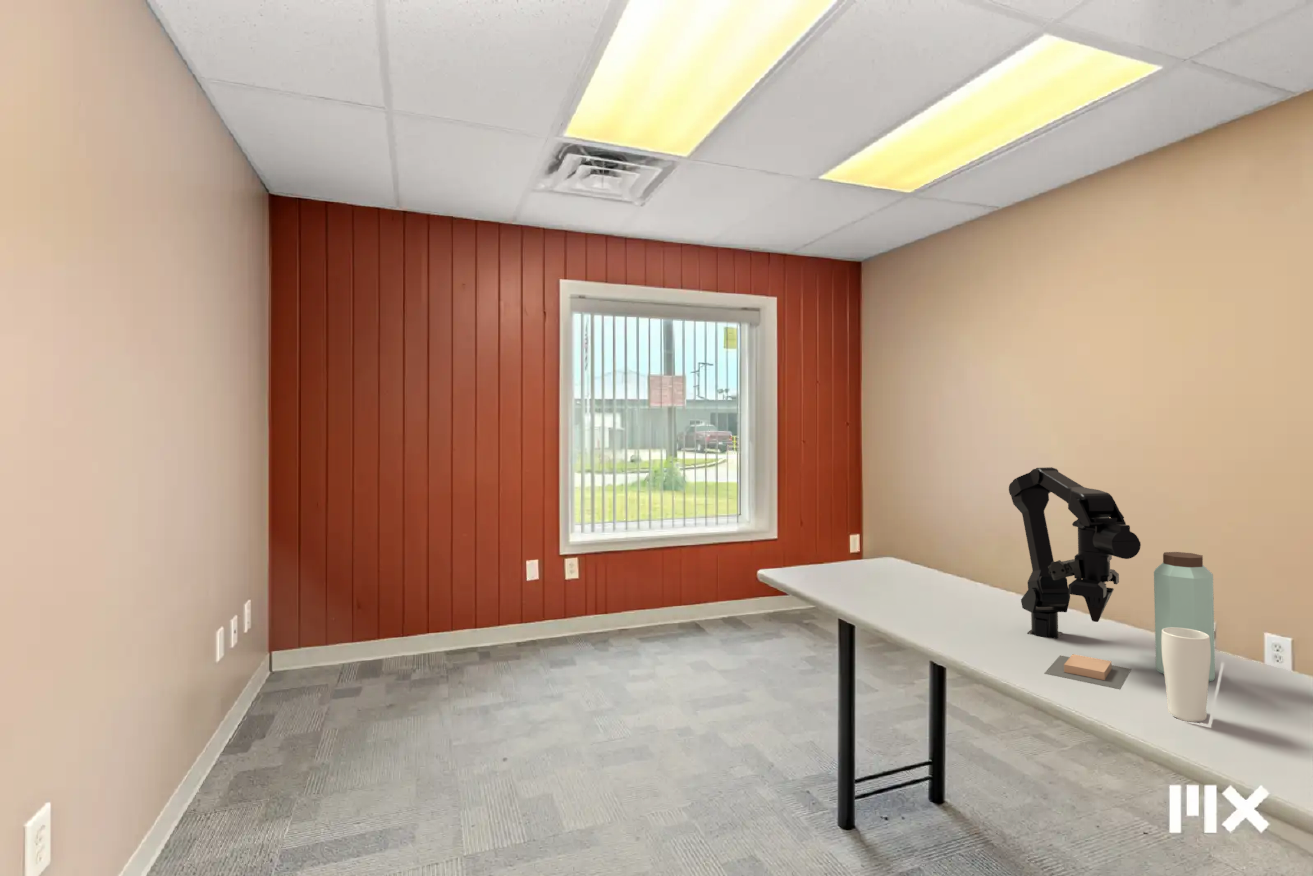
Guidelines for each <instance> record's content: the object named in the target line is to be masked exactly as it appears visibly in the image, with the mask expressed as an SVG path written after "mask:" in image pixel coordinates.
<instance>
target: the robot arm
mask: <svg viewBox="0 0 1313 876" xmlns="http://www.w3.org/2000/svg"><path fill="white" fill-rule="evenodd" d="M1008 493H1009V495H1010V497H1011V501H1012V504H1013V506H1014V507H1015V508H1016V509H1017V510H1018V511H1019V512H1020V513H1021V515H1022V520H1023V521H1022V522H1023V527H1024V530H1025V531H1024V532H1025V537H1026V542H1027V547H1028V552H1029V559H1030V563H1031V569H1032V571H1031V573H1030V576H1029V578H1028V580H1027V590H1026V592H1025V593H1024V595H1023V596H1022V598H1021V599H1020V603H1021V607H1022V609H1023V610H1025V611H1027V612H1029V613H1030V619H1031V621H1030V622H1031V629H1030V630H1029V631H1027V633H1026V634H1027V635H1032V636H1036V637H1043V638H1049V639H1055V640H1056V639H1058V638H1059V637H1060V636H1061V635H1062V634H1063V632H1062V631H1059V613H1067V612H1068V607H1069V604H1070V600H1071V595H1072V596H1079V597H1083V598H1084V600H1085V603H1086V606H1087V609H1088V612H1089V615H1090V619H1091V621H1092V622H1096V623H1097V622H1099V621H1100V619H1101V617H1102V615H1103V613H1104V610H1105V608H1106V607H1107V605H1108V602H1109V600H1110V598H1111V596H1112V594H1113V592H1114V591H1115V590H1114V589H1115V588H1113V587H1107V583H1108V582H1113V585H1118V584H1119V583H1120V575H1119V573H1118V572H1117V571H1116V570H1115V569H1111V560H1112V559H1113V557H1116V558H1119V559H1124V560H1129V559H1132V558H1134V557H1136V556H1137V555H1138V554H1139V552H1140V550H1141V546H1142V544H1141V541H1140V539H1139V537H1138V536H1137V534H1136V533H1134V532H1132V531H1131V526H1130V525H1129V524H1127V523H1126V520H1125V517H1124V515H1123V514H1122V512H1121V510H1119V509H1120V508H1119V507H1118V505H1117V503H1116V501H1115V499H1114V497H1113V496H1112V494H1110V493H1108V492H1107V491H1103V490H1101V489H1096V488H1090V487H1089V488H1088V487H1085V486H1084V485H1081V484H1079V483H1078V482H1076V481H1075V480H1074V479H1071V478H1070V477H1068V476H1066V475H1064V474H1063V473H1061V472H1059V470H1058V469H1057V468H1055V467H1053V466H1052V467H1050V466H1049V467H1045V466H1044V467H1036V468H1033V469H1032V470H1031V471H1029V472H1027V473H1025V474H1023V475H1020V476H1017V477H1016V478H1014V479H1013V480H1012V481H1011V482H1010V484H1009V485H1008ZM1050 493H1052V494H1054V495H1055V496H1056V497H1058V498H1059V499H1061V500H1063V501H1064V502H1065V503H1067V508H1068V510H1069V511H1070V513H1072V515H1073V516H1075V518H1077V519H1076V520H1074V521H1073V522H1072V524H1071V525H1072V527H1075V528H1077V549H1078V550H1077V552H1078V553H1076V554H1075V555H1074V559H1068V560H1062V561H1061V559H1060V560H1057V561H1055V560H1054V556H1053V550H1052V546H1051V541H1050V535H1049V531H1048V530H1049V529H1048V524H1047V520H1046V515H1045V510H1046V508H1047V506H1048V503H1049V501H1050V497H1049V494H1050ZM1073 576H1074V577H1073ZM1069 577H1073V578H1074V580H1072V581H1071V583H1069V584H1068V579H1067V578H1069Z"/></svg>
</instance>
